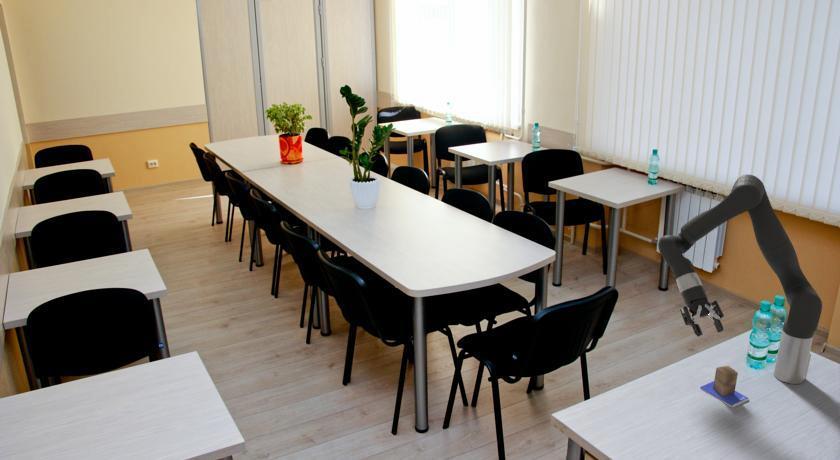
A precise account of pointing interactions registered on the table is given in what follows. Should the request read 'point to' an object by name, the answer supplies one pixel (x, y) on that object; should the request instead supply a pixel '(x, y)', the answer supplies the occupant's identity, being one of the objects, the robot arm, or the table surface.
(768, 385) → the table surface
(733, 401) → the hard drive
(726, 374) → the walnut block
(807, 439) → the table surface
